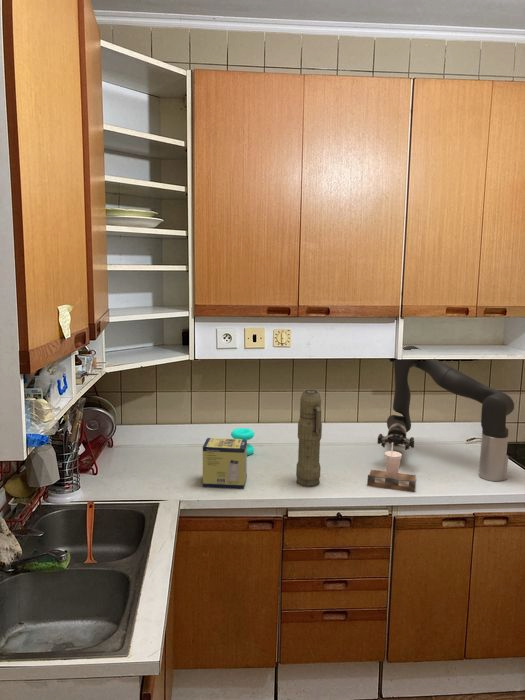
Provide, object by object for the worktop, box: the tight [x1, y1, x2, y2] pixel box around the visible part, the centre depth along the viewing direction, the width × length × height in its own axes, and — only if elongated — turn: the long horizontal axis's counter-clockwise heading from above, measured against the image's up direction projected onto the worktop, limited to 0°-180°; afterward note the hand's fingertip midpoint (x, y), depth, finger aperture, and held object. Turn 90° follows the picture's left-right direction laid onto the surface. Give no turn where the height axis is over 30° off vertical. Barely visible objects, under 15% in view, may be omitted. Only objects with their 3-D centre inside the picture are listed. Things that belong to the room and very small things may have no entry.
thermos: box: [295, 389, 323, 488], centre depth 198 cm, size 9×12×35 cm
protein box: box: [202, 437, 248, 490], centre depth 198 cm, size 10×16×16 cm
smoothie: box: [384, 442, 403, 478], centre depth 202 cm, size 6×6×14 cm
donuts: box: [230, 427, 255, 457], centre depth 230 cm, size 10×10×10 cm
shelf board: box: [366, 469, 417, 493], centre depth 202 cm, size 17×13×4 cm
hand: (394, 446), depth 210 cm, fingers open, 8 cm apart
